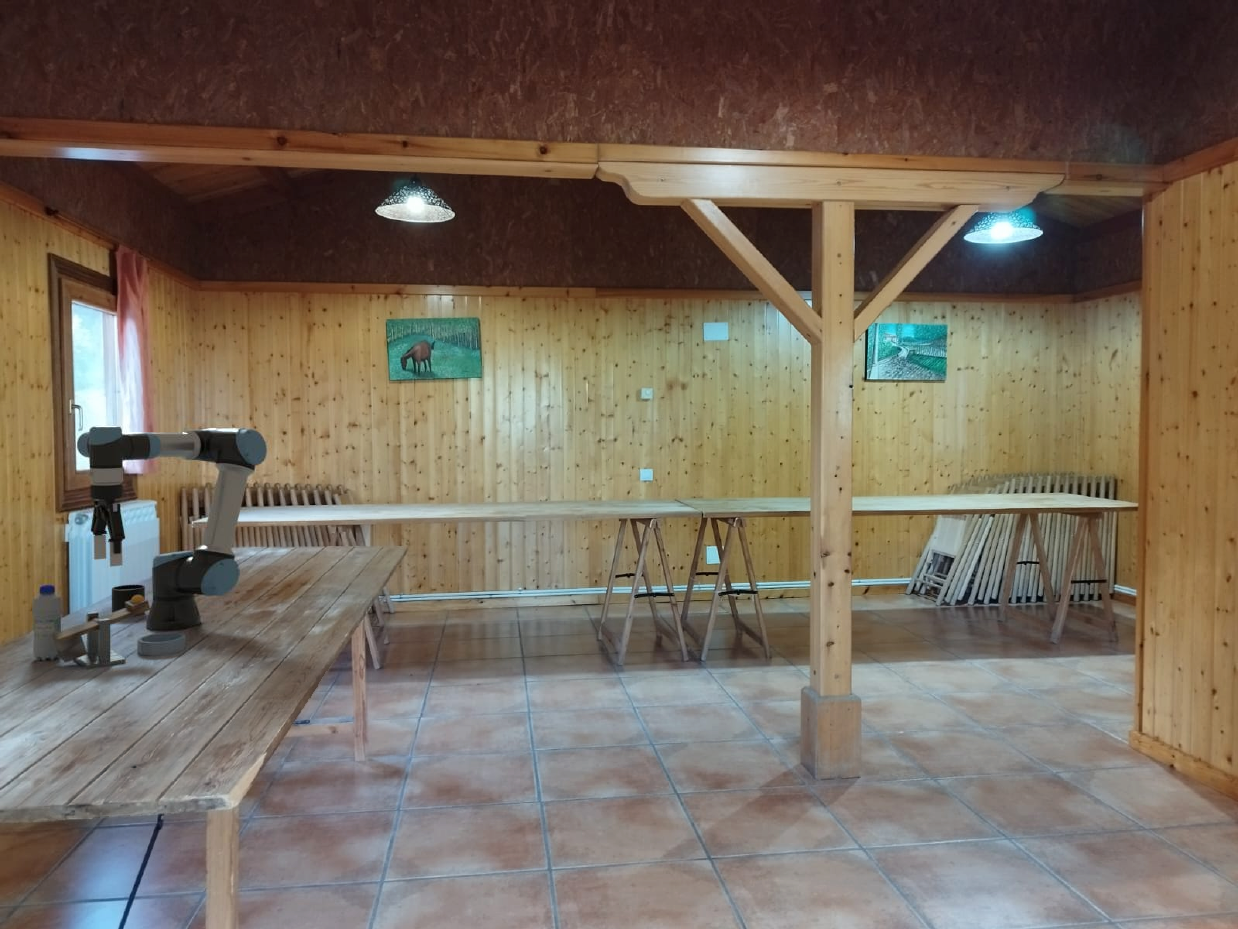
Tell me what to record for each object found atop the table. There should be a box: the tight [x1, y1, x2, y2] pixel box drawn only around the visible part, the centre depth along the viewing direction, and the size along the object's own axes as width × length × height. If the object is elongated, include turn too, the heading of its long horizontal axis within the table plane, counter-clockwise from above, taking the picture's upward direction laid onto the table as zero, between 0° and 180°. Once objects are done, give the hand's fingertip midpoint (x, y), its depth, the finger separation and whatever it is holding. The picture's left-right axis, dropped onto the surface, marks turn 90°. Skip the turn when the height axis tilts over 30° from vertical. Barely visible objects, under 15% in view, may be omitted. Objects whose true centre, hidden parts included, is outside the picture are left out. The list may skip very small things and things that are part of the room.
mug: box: [111, 584, 146, 617], centre depth 271 cm, size 9×12×9 cm
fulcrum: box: [73, 611, 127, 670], centre depth 217 cm, size 9×14×12 cm, turn 47°
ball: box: [131, 595, 144, 604], centre depth 224 cm, size 3×3×3 cm
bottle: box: [31, 584, 63, 662], centre depth 217 cm, size 7×7×20 cm
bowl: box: [136, 631, 186, 656], centre depth 229 cm, size 11×11×4 cm
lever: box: [52, 599, 151, 663], centre depth 218 cm, size 22×8×8 cm, turn 137°
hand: (108, 562), depth 218 cm, fingers open, 13 cm apart
